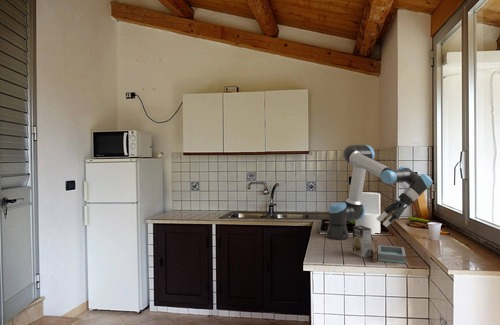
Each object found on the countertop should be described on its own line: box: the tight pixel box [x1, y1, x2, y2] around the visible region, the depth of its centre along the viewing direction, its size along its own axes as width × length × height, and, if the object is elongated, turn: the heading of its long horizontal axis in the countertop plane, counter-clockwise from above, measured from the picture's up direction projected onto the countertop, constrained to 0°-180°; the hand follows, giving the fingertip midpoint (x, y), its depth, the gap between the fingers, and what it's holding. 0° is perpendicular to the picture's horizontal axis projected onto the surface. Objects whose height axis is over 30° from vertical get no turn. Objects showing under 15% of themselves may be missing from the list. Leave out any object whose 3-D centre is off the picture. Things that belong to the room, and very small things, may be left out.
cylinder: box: [355, 191, 381, 235], centre depth 257 cm, size 17×17×28 cm
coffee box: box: [352, 225, 372, 258], centre depth 203 cm, size 9×6×16 cm
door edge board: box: [372, 239, 379, 263], centre depth 201 cm, size 2×24×6 cm, turn 159°
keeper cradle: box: [377, 244, 407, 264], centre depth 198 cm, size 14×17×4 cm
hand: (381, 222), depth 201 cm, fingers open, 13 cm apart
